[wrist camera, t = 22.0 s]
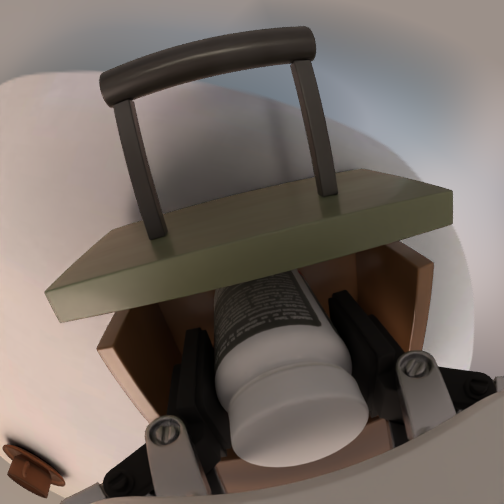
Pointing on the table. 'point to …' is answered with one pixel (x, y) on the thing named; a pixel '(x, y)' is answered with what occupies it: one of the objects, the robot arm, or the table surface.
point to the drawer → (244, 228)
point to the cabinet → (260, 477)
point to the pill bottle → (283, 373)
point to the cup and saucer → (31, 471)
